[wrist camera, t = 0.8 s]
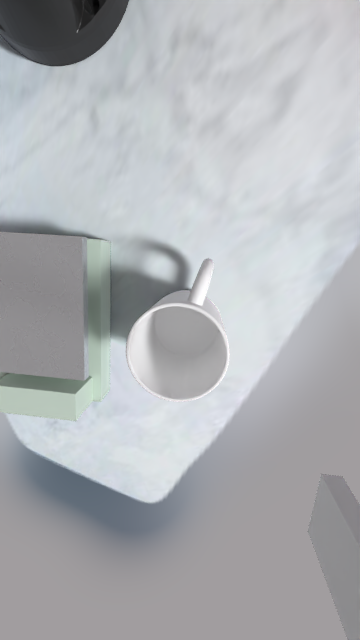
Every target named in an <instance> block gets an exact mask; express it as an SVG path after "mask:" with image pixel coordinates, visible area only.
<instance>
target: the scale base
mask: <svg viewBox="0 0 360 640" xmlns="http://www.w3.org/2000/svg"><path fill="white" fill-rule="evenodd" d="M87 273H88V350H89V377H88V378H87V379H86V380H85V381H82V380H72V379H63V378H53V377H44V376H34V375H24V374H15V373H5V372H0V412H2V413H11V414H19V415H28V416H36V417H45V418H53V419H62V420H70V421H77V419H78V418H79V417H80V416H81V415H82V413H83V412H84V411H85V410H86V408H87V407H88V406H89V405H90V404H91V402H92V401H96V402H101V401H102V400H103V399H104V397H105V396H106V395H107V393H108V392H109V391H110V310H111V242H110V241H105V240H99V239H87Z"/></svg>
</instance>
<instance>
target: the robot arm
mask: <svg viewBox="0 0 360 640" xmlns="http://www.w3.org/2000/svg"><path fill="white" fill-rule="evenodd" d="M128 2H129V0H0V34H1V36H2V37H3V38H4V39H5V40H6V41H7V42H8V43H9V44H10V45H11V46H12V47H13V48H14V49H15V50H17V51H18V52H19V53H21V54H22V55H24V56H25V57H27V58H29V59H31V60H33V61H36V62H39V63H42V64H46V65H56V66H58V65H68V64H73V63H76V62H79V61H81V60H84V59H85V58H87V57H89V56H91V55H92V54H94V53H95V52H96V51H98V50H99V49H100V48H101V47H102V46H103V45H104V44H105V43H106V42H107V41H108V40H109V39H110V37H111V36H112V35H113V33H114V32H115V30H116V29H117V27H118V25H119V24H120V22H121V20H122V18H123V15H124V13H125V11H126V8H127V5H128ZM308 533H309V536H310V538H311V541H312V544H313V547H314V549H315V552H316V555H317V558H318V560H319V563H320V566H321V568H322V571H323V573H324V576H325V579H326V582H327V585H328V587H329V590H330V593H331V595H332V598H333V601H334V604H335V606H336V609H337V612H338V615H339V617H340V620H341V623H342V626H343V628H344V631H345V634H346V637H347V639H348V640H360V504H359V503H358V501H357V499H356V498H355V496H354V494H353V493H352V491H351V490H350V488H349V486H348V485H347V483H346V481H345V480H344V478H343V477H341V476H334V475H326V474H321V477H320V481H319V486H318V490H317V495H316V499H315V503H314V507H313V511H312V516H311V521H310V524H309V529H308Z"/></svg>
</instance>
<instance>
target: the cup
mask: <svg viewBox="0 0 360 640" xmlns="http://www.w3.org/2000/svg"><path fill="white" fill-rule="evenodd" d="M213 269H214V262H213V260H212V259H209V258H208V259H205V260H204V261H203V263H202V265H201V267H200V269H199V272H198V274H197V277H196V279H195V282H194V284H193V287H192V289H191V291H189V290H181V291H176V292H173V293H170V294H168V295H166V296H165V297H163V298H162V299H161V300H159V301H158V302H157V303H156V304H155V305H153V306H152V307H151V308H150V309H149V310H147V311H146V312H145V313H144V314H143V315H141V316H140V317H139V318H138V319H137V321H136V322H135V323H134V325H133V326H132V328H131V330H130V332H129V335H128V338H127V343H126V358H127V363H128V366H129V369H130V371H131V373H132V375H133V376H134V378H135V379H136V381H137V382H138V383H139V384H140V385H141V386H142V387H143V388H144V389H145V390H146V391H148V392H149V393H151V394H152V395H154V396H156V397H158V398H161V399H164V400H168V401H174V402H185V401H191V400H195V399H198V398H200V397H203V396H205V395H206V394H208V393H209V392H211V391H212V390H213V389H214V388H215V387H216V386H217V385H218V384H219V383H220V382H221V380H222V379H223V377H224V375H225V373H226V371H227V368H228V364H229V358H230V351H229V344H228V340H227V336H226V332H225V329H224V325H223V321H222V318H221V315H220V312H219V310H218V308H217V307H216V305H215V304H214V303H213V302H212V301H211V300H210V299H209V298H207V297H206V293H207V290H208V287H209V284H210V281H211V277H212V273H213Z"/></svg>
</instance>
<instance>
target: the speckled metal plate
mask: <svg viewBox="0 0 360 640" xmlns="http://www.w3.org/2000/svg"><path fill="white" fill-rule="evenodd" d="M0 372H5V373H15V374H24V375H34V376H44V377H53V378H63V379H72V380H82V381H85V380H86V379H87V378H88V377H89V350H88V273H87V237H81V236H64V235H47V234H30V233H13V232H0Z"/></svg>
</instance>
